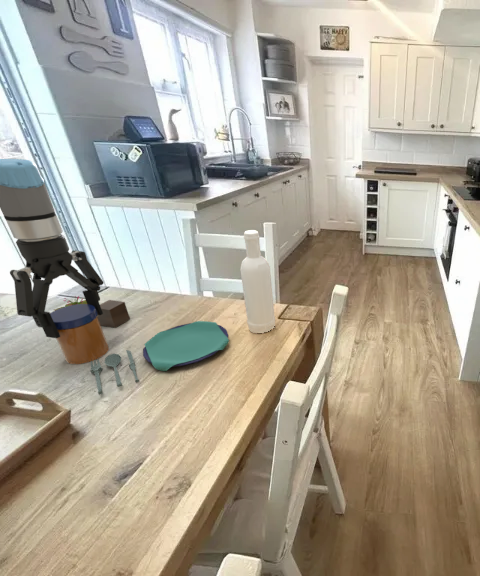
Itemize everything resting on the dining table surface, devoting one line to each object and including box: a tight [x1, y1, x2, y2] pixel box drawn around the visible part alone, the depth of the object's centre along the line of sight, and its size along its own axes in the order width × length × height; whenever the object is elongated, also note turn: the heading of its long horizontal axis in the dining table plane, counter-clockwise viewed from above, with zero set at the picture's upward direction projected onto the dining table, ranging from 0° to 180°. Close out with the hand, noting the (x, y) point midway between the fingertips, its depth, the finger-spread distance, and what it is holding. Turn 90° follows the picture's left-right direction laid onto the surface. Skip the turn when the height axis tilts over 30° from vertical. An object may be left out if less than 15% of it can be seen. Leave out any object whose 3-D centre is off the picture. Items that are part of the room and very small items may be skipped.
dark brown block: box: [97, 299, 131, 329], centre depth 95 cm, size 5×5×6 cm
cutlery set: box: [90, 320, 230, 396], centre depth 84 cm, size 20×30×2 cm, turn 132°
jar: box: [55, 317, 110, 365], centre depth 80 cm, size 8×8×12 cm
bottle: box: [239, 229, 276, 334], centre depth 92 cm, size 8×8×30 cm
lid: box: [50, 304, 97, 330], centre depth 78 cm, size 9×9×2 cm
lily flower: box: [53, 295, 87, 311], centre depth 99 cm, size 12×12×5 cm
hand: (76, 324), depth 79 cm, fingers open, 10 cm apart
